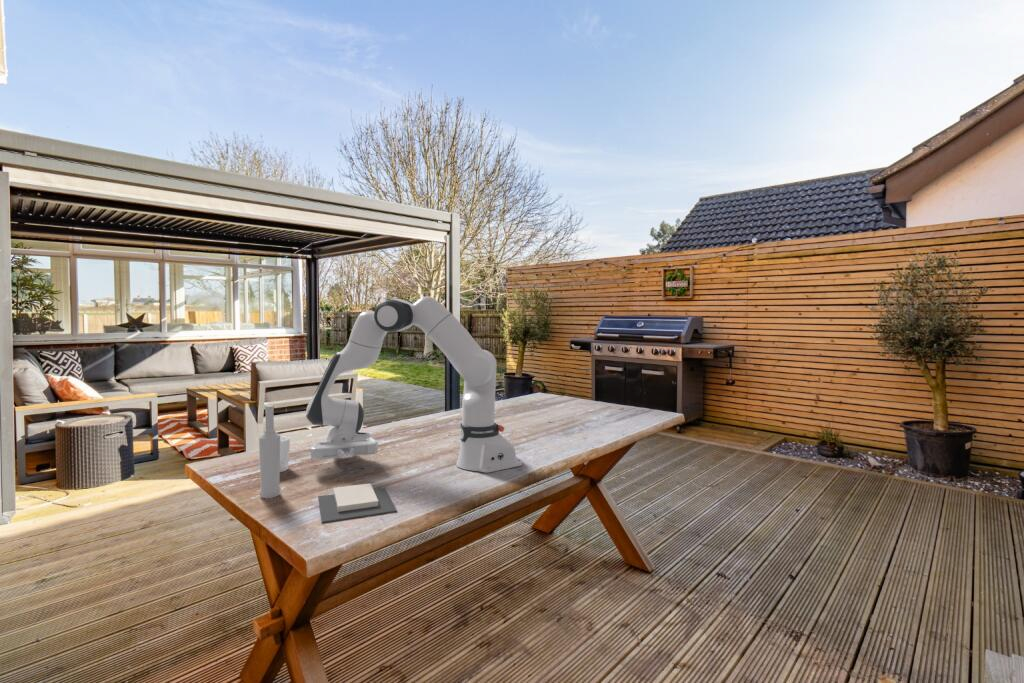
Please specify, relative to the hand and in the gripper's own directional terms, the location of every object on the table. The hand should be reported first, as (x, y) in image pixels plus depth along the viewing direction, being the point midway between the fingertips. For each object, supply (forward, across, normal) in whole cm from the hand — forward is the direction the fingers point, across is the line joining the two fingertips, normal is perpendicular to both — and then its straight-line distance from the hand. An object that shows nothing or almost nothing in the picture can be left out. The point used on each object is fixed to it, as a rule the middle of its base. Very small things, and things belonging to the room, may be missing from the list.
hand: (347, 455), depth 146 cm
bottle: (+6, -21, +7) cm, 23 cm away
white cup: (-16, -20, +7) cm, 27 cm away
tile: (+12, 0, +6) cm, 14 cm away
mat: (+22, 0, +7) cm, 23 cm away
